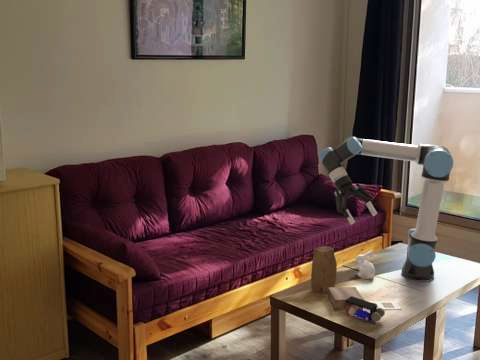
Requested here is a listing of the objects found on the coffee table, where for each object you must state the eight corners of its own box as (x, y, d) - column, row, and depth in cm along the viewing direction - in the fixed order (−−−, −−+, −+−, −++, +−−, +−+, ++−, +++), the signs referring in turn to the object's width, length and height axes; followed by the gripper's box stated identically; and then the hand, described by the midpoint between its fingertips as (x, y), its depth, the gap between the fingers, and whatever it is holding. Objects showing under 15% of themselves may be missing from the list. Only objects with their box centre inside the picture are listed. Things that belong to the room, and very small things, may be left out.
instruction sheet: (394, 301, 252) (394, 300, 252) (401, 309, 244) (401, 308, 244) (360, 302, 250) (360, 301, 250) (366, 310, 243) (366, 309, 243)
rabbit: (352, 272, 284) (354, 249, 281) (369, 271, 287) (371, 247, 284) (365, 282, 273) (367, 257, 270) (382, 280, 276) (384, 255, 273)
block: (320, 295, 256) (323, 252, 252) (308, 290, 262) (310, 247, 257) (337, 290, 262) (340, 247, 258) (325, 284, 268) (328, 243, 264)
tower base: (354, 297, 255) (355, 287, 254) (362, 310, 242) (363, 299, 241) (327, 298, 254) (328, 287, 253) (334, 311, 241) (335, 299, 240)
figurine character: (383, 324, 234) (348, 310, 242) (386, 307, 232) (351, 293, 239) (377, 330, 228) (341, 316, 236) (380, 313, 226) (344, 299, 234)
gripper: (356, 176, 275) (379, 214, 269) (316, 189, 263) (339, 230, 256) (364, 168, 269) (388, 207, 263) (323, 181, 257) (347, 223, 250)
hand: (364, 219), depth 259 cm, fingers open, 13 cm apart
